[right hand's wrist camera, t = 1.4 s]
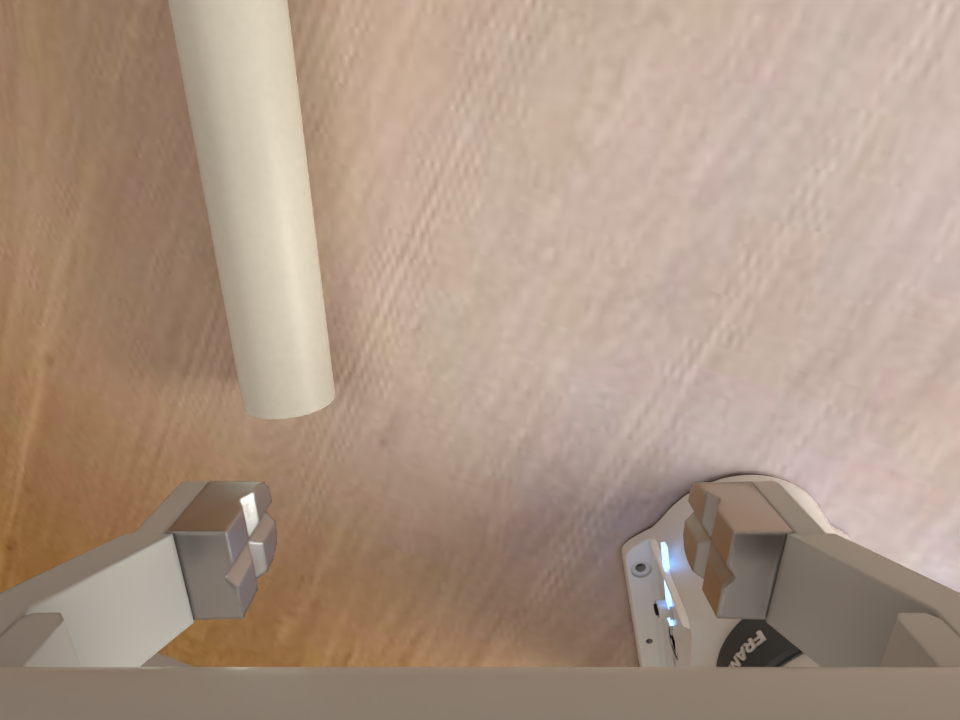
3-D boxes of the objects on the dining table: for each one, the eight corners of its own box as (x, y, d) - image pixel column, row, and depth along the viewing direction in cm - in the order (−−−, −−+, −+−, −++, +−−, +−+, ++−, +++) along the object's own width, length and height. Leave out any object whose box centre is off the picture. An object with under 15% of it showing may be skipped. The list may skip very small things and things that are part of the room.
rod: (344, 383, 40) (321, 419, 34) (264, 385, 40) (227, 420, 34) (293, -64, 31) (250, -117, 25) (189, -61, 31) (122, -113, 25)
